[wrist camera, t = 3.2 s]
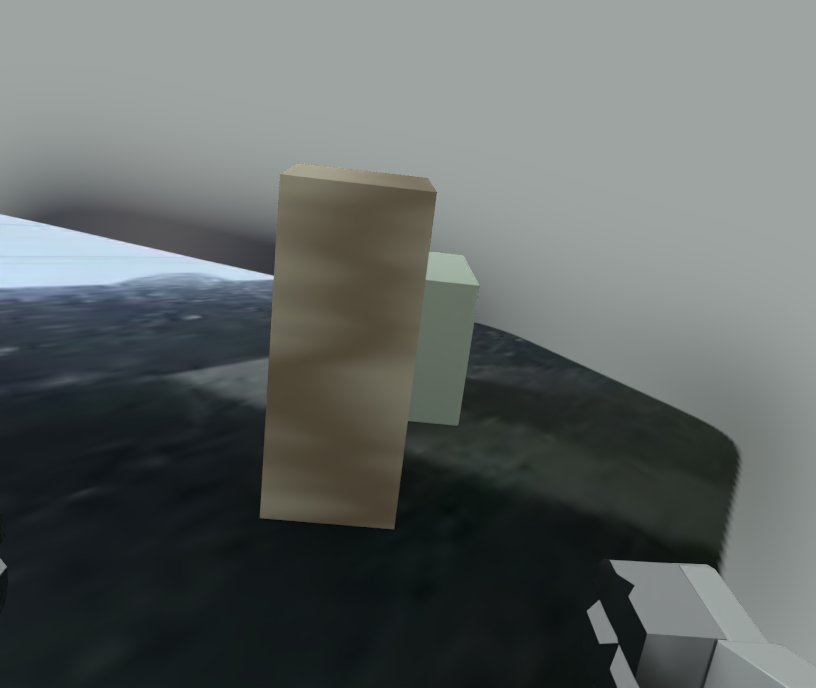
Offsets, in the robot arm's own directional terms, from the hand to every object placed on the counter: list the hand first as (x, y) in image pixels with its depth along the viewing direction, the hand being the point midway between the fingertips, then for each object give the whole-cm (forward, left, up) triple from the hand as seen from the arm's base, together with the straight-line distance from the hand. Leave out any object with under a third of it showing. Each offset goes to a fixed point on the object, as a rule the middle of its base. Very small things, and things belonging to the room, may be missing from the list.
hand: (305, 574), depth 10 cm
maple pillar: (-10, +7, -6) cm, 13 cm away
